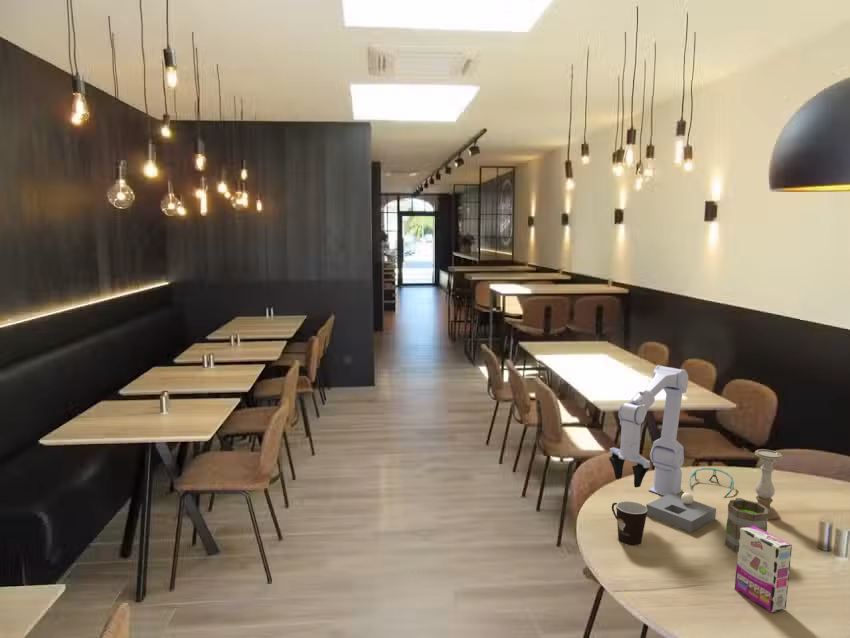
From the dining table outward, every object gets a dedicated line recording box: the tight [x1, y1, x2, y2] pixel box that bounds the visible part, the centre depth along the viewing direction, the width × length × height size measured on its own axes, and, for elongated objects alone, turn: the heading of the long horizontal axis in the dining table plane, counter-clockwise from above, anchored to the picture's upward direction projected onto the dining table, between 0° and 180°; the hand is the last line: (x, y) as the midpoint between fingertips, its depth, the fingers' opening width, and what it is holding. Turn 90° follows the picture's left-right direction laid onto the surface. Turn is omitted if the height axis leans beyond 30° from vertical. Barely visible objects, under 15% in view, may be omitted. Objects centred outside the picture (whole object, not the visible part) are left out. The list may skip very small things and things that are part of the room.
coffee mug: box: [611, 500, 648, 546], centre depth 185 cm, size 12×9×10 cm
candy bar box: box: [734, 526, 793, 613], centre depth 154 cm, size 11×5×16 cm, turn 21°
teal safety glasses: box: [689, 467, 735, 499], centre depth 224 cm, size 14×15×5 cm
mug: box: [724, 497, 769, 554], centre depth 182 cm, size 16×11×12 cm
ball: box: [681, 492, 694, 504], centre depth 201 cm, size 4×4×4 cm
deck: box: [645, 493, 717, 533], centre depth 199 cm, size 15×15×4 cm
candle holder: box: [754, 448, 783, 521], centre depth 201 cm, size 9×9×20 cm
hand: (627, 482), depth 201 cm, fingers open, 7 cm apart
